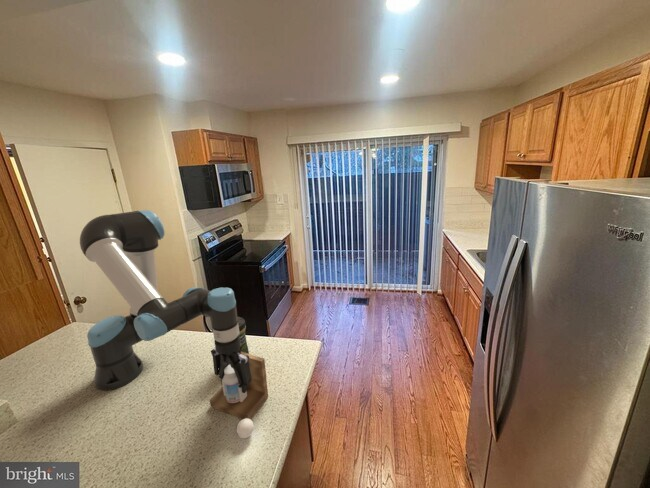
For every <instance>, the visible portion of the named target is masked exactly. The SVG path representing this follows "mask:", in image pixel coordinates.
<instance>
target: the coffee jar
mask: <svg viewBox="0 0 650 488" xmlns="http://www.w3.org/2000/svg"><path fill="white" fill-rule="evenodd" d="M237 318H238V325H239V332H240V333H239V334H240V341H241V345H240V351H241V352H244V353H248V354H250V351H249V346H248V344H247V343H248V341H247V337H246V329H247V326H246V320H245V319H244V318H243V317H240V316H237Z"/></svg>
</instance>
